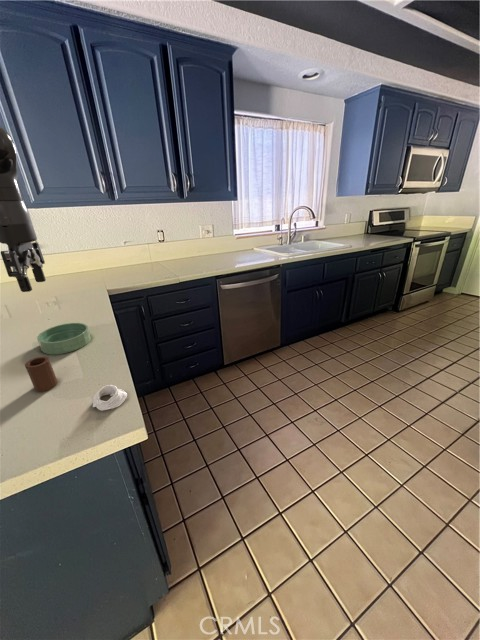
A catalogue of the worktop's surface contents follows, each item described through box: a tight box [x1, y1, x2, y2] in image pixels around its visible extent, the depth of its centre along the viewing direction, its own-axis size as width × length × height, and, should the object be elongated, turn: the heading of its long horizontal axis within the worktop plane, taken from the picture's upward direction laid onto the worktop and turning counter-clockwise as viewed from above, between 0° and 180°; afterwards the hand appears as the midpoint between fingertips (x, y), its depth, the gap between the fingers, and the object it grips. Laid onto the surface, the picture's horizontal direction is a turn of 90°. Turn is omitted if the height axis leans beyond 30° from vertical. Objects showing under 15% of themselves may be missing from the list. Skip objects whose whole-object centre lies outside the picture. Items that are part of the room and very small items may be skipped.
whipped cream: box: [92, 384, 128, 411], centre depth 67 cm, size 8×7×5 cm
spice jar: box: [24, 355, 59, 393], centre depth 72 cm, size 5×5×8 cm
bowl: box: [36, 322, 92, 355], centre depth 94 cm, size 15×15×5 cm
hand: (34, 286), depth 70 cm, fingers open, 8 cm apart
